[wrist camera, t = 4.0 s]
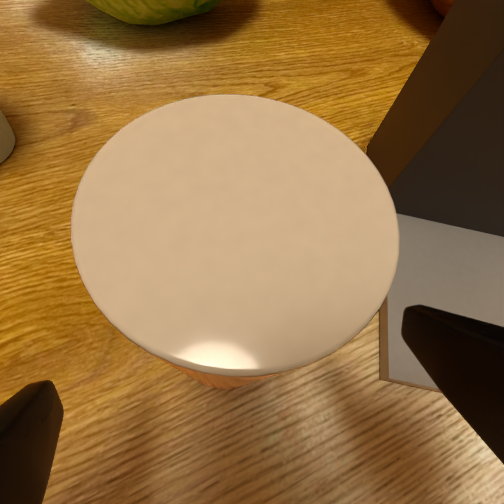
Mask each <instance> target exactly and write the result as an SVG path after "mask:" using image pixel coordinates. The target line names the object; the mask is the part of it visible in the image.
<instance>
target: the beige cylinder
mask: <svg viewBox="0 0 504 504" xmlns="http://www.w3.org/2000/svg"><path fill="white" fill-rule="evenodd" d="M399 243H400V234H399V225H398V218H397V214H396V210H395V206H394V202H393V200H392V197H391V195H390V192H389V190H388V187H387V185H386V183H385V182H384V180H383V178H382V176H381V175H380V173H379V171H378V170H377V168H376V167H375V166H374V164H373V163H372V161H371V160H370V159H369V157H368V156H367V155H366V154H365V153H364V152H363V151H362V150H361V149H360V147H359V146H358V145H357V144H355V143H354V142H353V141H352V140H351V139H350V138H349V137H348V136H347V135H345V134H344V133H343V132H341V131H340V130H339V129H337V128H336V127H334V126H333V125H332V124H330V123H328V122H327V121H325V120H323V119H322V118H320V117H318V116H316V115H314V114H312V113H310V112H308V111H306V110H304V109H301V108H299V107H296V106H293V105H290V104H288V103H285V102H281V101H277V100H274V99H270V98H264V97H259V96H253V95H242V94H213V95H202V96H197V97H191V98H186V99H182V100H178V101H175V102H171V103H168V104H166V105H163V106H160V107H158V108H155V109H153V110H151V111H149V112H147V113H145V114H143V115H141V116H139V117H137V118H136V119H134V120H133V121H131V122H130V123H128V124H127V125H125V126H124V127H123V128H121V129H120V130H119V131H118V132H117V133H116V134H114V135H113V136H112V137H111V138H110V139H109V140H108V141H107V142H106V143H105V144H104V145H103V146H102V147H101V149H100V150H99V151H98V152H97V153H96V155H95V156H94V158H93V159H92V161H91V162H90V164H89V165H88V167H87V168H86V170H85V172H84V175H83V177H82V179H81V181H80V183H79V186H78V189H77V192H76V195H75V198H74V202H73V209H72V216H71V244H72V249H73V254H74V259H75V264H76V267H77V269H78V272H79V275H80V277H81V280H82V283H83V285H84V287H85V288H86V290H87V292H88V294H89V295H90V297H91V299H92V301H93V302H94V304H95V305H96V307H97V308H98V309H99V310H100V311H101V313H102V314H103V315H104V316H105V318H106V319H107V320H108V321H109V322H110V323H111V324H112V325H113V326H114V327H115V328H116V329H117V330H118V331H120V332H121V333H122V334H123V335H124V336H125V337H126V338H127V339H129V340H130V341H131V342H133V343H135V344H136V345H138V346H139V347H141V348H142V349H144V350H145V351H147V352H148V353H150V354H152V355H153V356H155V357H157V358H159V359H160V360H162V361H164V362H165V363H167V364H169V365H171V366H172V367H174V368H176V369H178V370H179V371H181V372H183V373H185V374H186V375H188V376H190V377H191V378H193V379H195V380H197V381H198V382H200V383H202V384H204V385H206V386H209V387H213V388H219V389H230V388H236V387H239V386H242V385H246V384H249V383H252V382H255V381H259V380H262V379H265V378H269V377H272V376H275V375H278V374H282V373H285V372H288V371H291V370H295V369H298V368H301V367H305V366H308V365H310V364H312V363H314V362H316V361H318V360H320V359H323V358H325V357H327V356H329V355H331V354H332V353H334V352H335V351H337V350H338V349H340V348H341V347H343V346H344V345H346V344H347V343H349V342H350V341H351V340H352V339H353V338H354V337H355V336H356V335H357V334H359V333H360V332H361V331H362V330H363V329H364V328H365V327H366V326H367V325H368V323H369V322H370V321H371V319H372V318H373V317H374V316H375V314H376V313H377V312H378V311H379V309H380V307H381V305H382V303H383V302H384V300H385V298H386V296H387V294H388V293H389V290H390V287H391V284H392V281H393V279H394V276H395V273H396V268H397V262H398V257H399Z"/></svg>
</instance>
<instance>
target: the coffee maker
mask: <svg viewBox="0 0 504 504" xmlns="http://www.w3.org/2000/svg"><path fill="white" fill-rule="evenodd" d="M367 156H368V157H369V159H370V160H371V161H372V163H373V164H374V166H375V167H376V168H377V170H378V171H379V173H380V175H381V176H382V178H383V180H384V182H385V183H386V185H387V187H388V190H389V192H390V195H391V197H392V200H393V202H394V206H395V210H396V214H397V218H398V225H399V234H400V243H399V257H398V262H397V268H396V273H395V276H394V279H393V281H392V284H391V287H390V290H389V293H388V294H387V296H386V298H385V300H384V302H383V303H382V305H381V307H380V379H381V380H386V381H390V382H395V383H400V384H404V385H409V386H413V387H418V388H423V389H427V390H432V391H437V392H441V391H440V390H439V388H438V387H437V386H436V384H435V383H434V382H433V380H432V379H431V378H430V376H429V375H428V374H427V372H426V371H425V369H424V368H423V367H422V365H421V364H420V362H419V361H418V360H417V358H416V357H415V356H414V354H413V353H412V351H411V350H410V349H409V347H408V346H407V345H406V343H405V342H404V340H403V338H402V335H401V326H402V318H403V311H404V309H405V308H406V307H408V306H412V305H417V304H421V305H425V306H429V307H432V308H436V309H440V310H443V311H447V312H451V313H454V314H458V315H462V316H466V317H469V318H473V319H477V320H480V321H484V322H488V323H491V324H495V325H499V326H502V327H504V0H456V1H455V2H454V4H453V5H452V7H451V9H450V10H449V12H448V14H447V15H446V17H445V19H444V20H443V22H442V24H441V25H440V27H439V29H438V30H437V32H436V34H435V35H434V37H433V39H432V40H431V42H430V44H429V45H428V47H427V48H426V50H425V52H424V53H423V55H422V57H421V58H420V60H419V62H418V63H417V65H416V67H415V68H414V70H413V72H412V73H411V75H410V77H409V78H408V80H407V82H406V83H405V85H404V86H403V88H402V90H401V91H400V93H399V95H398V96H397V98H396V100H395V101H394V103H393V105H392V106H391V108H390V110H389V111H388V113H387V115H386V116H385V118H384V120H383V121H382V123H381V125H380V126H379V128H378V129H377V131H376V133H375V134H374V136H373V138H372V139H371V141H370V143H369V144H368V146H367ZM441 393H442V392H441Z"/></svg>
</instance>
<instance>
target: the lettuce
mask: <svg viewBox="0 0 504 504" xmlns="http://www.w3.org/2000/svg"><path fill="white" fill-rule="evenodd" d="M86 1H87V2H89V3H90V4H91V5H93V6H94V7H96V8H97V9H99V10H101V11H103V12H105V13H107V14H109V15H111V16H113V17H115V18H118V19H120V20H122V21H124V22H126V23H128V24H142V25H160V24H164V23H167V22H171V21H174V20H178V19H181V18H185V17H189V16H193V15H197V14H201V13H205V12H209V11H211V10H212V9H213V8H214V7H216V6H217V5H218V4H219V3H220V2H221V1H223V0H86Z"/></svg>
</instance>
